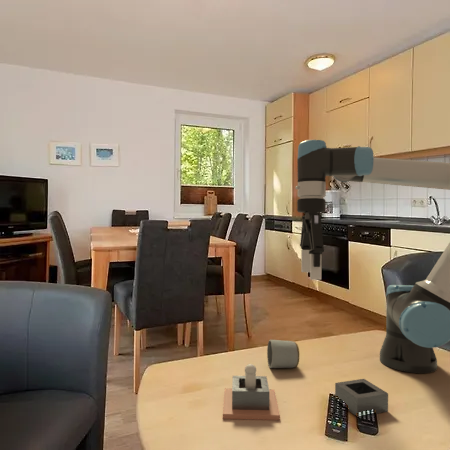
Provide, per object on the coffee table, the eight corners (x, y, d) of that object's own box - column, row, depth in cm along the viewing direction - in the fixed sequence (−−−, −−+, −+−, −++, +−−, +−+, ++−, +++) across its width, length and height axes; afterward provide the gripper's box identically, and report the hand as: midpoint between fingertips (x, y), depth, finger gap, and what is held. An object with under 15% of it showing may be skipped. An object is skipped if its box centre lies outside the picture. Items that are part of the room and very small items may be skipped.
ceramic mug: (300, 371, 104) (300, 343, 104) (271, 372, 103) (271, 344, 103) (290, 358, 114) (290, 332, 114) (264, 358, 113) (264, 333, 113)
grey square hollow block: (363, 395, 90) (364, 378, 90) (387, 411, 82) (388, 393, 82) (335, 400, 87) (335, 382, 87) (357, 417, 80) (357, 398, 80)
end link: (266, 393, 88) (266, 376, 88) (269, 410, 80) (269, 391, 80) (232, 392, 89) (232, 375, 88) (232, 409, 81) (232, 391, 80)
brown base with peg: (274, 393, 90) (274, 355, 90) (279, 420, 78) (280, 375, 78) (224, 392, 91) (224, 354, 91) (222, 418, 79) (222, 374, 79)
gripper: (291, 200, 115) (290, 269, 115) (305, 194, 90) (305, 283, 90) (315, 200, 115) (315, 269, 115) (337, 195, 90) (336, 283, 90)
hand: (310, 275), depth 103 cm, fingers open, 13 cm apart
